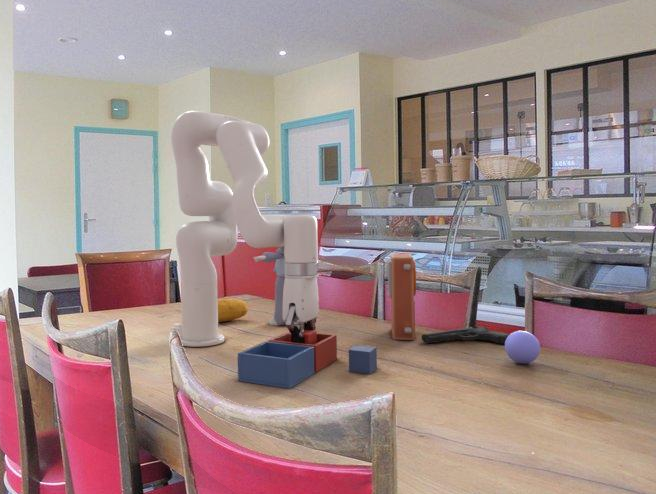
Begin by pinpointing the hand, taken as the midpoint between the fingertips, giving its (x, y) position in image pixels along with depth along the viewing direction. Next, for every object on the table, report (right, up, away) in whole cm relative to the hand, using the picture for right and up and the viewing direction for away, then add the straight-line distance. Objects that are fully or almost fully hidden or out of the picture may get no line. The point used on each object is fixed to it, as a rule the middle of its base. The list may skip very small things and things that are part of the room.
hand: (303, 350), depth 129 cm
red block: (0, 0, 0) cm, 0 cm away
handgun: (+43, -2, +16) cm, 45 cm away
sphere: (+47, -2, -4) cm, 47 cm away
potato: (-20, -2, +51) cm, 54 cm away
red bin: (0, -3, 0) cm, 3 cm away
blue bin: (-6, -3, -11) cm, 13 cm away
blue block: (+12, -3, -7) cm, 14 cm away
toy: (-2, -2, +45) cm, 45 cm away
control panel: (+29, -2, +26) cm, 39 cm away
